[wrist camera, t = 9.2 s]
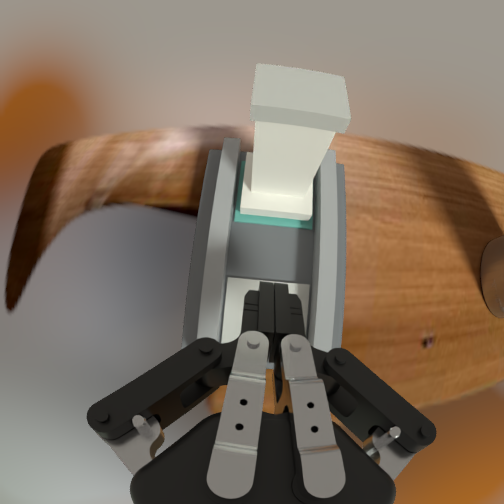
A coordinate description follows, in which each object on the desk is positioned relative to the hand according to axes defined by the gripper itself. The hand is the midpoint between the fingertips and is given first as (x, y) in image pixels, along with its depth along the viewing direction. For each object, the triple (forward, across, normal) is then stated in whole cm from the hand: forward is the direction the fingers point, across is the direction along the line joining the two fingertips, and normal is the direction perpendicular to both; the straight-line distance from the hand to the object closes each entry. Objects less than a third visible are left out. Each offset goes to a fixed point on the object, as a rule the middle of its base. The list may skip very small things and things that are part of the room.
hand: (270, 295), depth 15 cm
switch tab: (+8, 0, -3) cm, 9 cm away
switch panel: (+6, 0, +2) cm, 7 cm away
